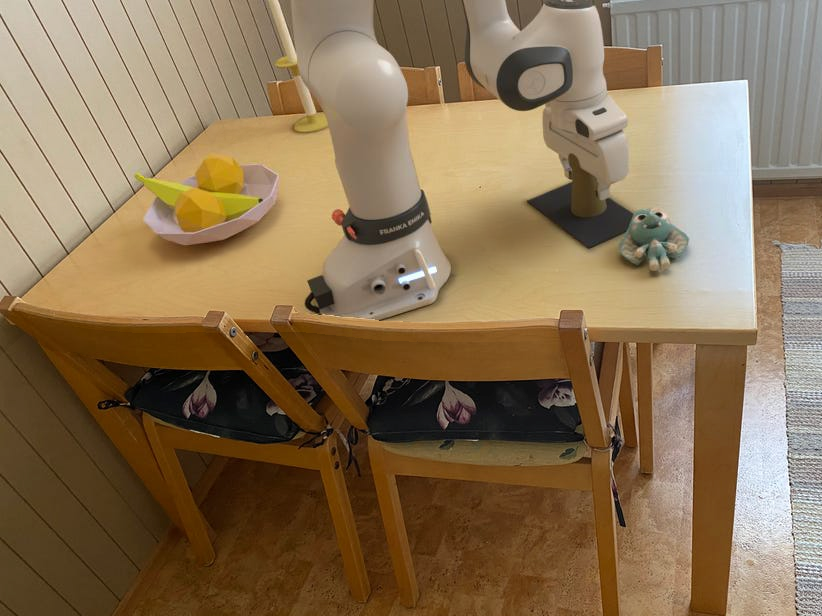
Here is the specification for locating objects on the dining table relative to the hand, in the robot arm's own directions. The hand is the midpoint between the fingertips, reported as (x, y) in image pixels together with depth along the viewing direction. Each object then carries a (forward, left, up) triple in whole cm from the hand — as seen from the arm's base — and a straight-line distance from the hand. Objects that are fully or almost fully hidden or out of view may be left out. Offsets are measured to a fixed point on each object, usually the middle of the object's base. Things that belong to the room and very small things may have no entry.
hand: (586, 187), depth 125 cm
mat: (-1, 0, -4) cm, 5 cm away
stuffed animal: (0, -18, -4) cm, 18 cm away
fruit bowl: (-56, +48, -5) cm, 74 cm away
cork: (0, 0, -4) cm, 4 cm away
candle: (-26, +80, -4) cm, 84 cm away
